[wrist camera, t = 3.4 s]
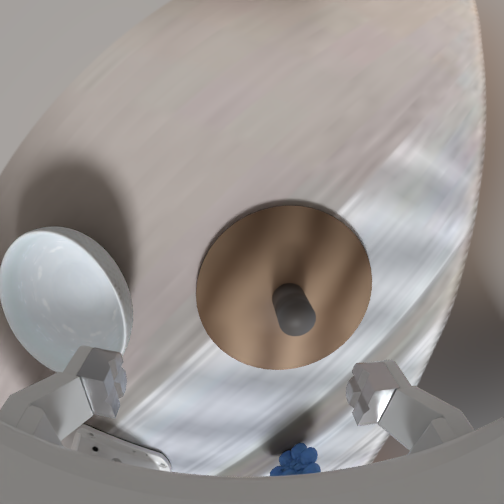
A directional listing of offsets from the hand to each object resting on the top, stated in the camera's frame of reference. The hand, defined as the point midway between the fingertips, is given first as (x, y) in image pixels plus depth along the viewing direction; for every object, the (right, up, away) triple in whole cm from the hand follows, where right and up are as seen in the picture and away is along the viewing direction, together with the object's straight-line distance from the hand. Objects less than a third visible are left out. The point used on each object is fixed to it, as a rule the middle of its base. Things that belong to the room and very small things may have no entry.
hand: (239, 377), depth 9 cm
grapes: (+7, -30, +32) cm, 44 cm away
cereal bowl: (-20, 0, +22) cm, 30 cm away
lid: (+4, -1, +24) cm, 24 cm away
